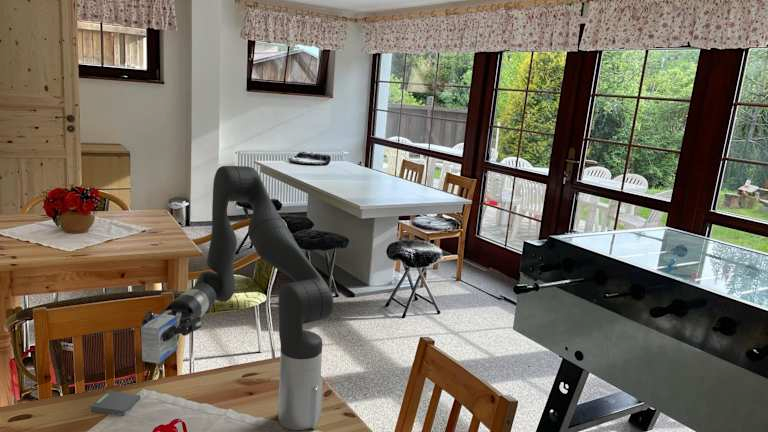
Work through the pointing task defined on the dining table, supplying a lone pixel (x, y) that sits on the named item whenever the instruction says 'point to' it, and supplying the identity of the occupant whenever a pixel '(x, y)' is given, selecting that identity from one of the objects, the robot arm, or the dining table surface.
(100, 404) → the plate
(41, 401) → the dining table surface
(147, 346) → the medicine box
